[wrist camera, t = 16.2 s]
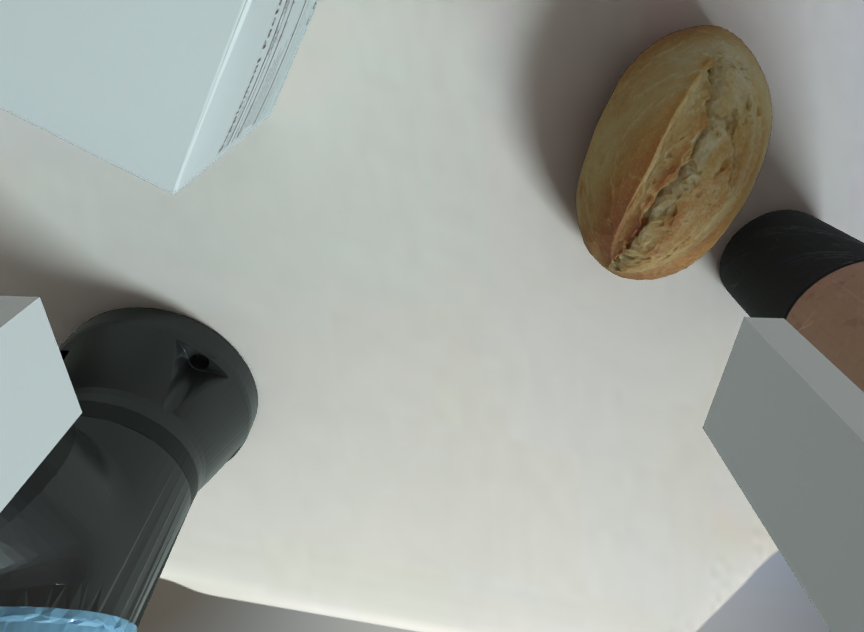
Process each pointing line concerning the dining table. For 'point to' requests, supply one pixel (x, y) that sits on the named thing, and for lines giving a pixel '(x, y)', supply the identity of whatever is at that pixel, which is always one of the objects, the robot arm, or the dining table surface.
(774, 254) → the travel mug
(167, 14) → the supplement box
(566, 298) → the dining table surface
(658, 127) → the bread roll
